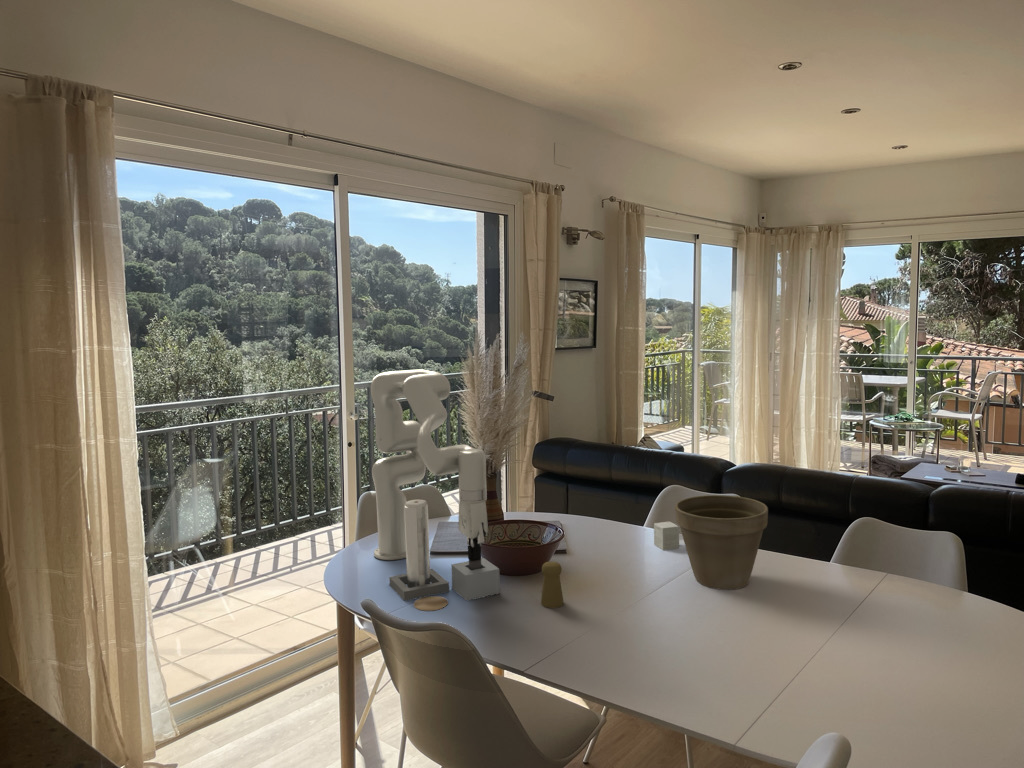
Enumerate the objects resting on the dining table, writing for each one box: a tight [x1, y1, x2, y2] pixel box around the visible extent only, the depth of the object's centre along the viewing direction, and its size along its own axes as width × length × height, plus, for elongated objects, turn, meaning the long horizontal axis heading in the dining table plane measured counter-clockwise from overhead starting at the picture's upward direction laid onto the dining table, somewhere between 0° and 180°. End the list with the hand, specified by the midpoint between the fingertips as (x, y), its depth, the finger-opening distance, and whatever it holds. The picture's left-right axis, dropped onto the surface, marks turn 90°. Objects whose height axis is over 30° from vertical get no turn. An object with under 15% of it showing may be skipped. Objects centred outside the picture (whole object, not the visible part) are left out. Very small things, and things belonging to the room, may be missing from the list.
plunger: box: [468, 558, 482, 570], centre depth 201 cm, size 3×3×4 cm
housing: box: [451, 557, 501, 601], centre depth 202 cm, size 10×10×7 cm
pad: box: [413, 595, 449, 612], centre depth 194 cm, size 9×9×1 cm
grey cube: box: [653, 521, 680, 551], centre depth 235 cm, size 6×6×7 cm
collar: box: [388, 568, 450, 602], centre depth 205 cm, size 13×13×2 cm
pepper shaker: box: [540, 561, 565, 609], centre depth 192 cm, size 6×6×11 cm
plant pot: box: [674, 494, 769, 590], centre depth 205 cm, size 25×25×22 cm
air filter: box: [404, 499, 431, 588], centre depth 204 cm, size 6×6×25 cm
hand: (474, 559), depth 201 cm, fingers closed
